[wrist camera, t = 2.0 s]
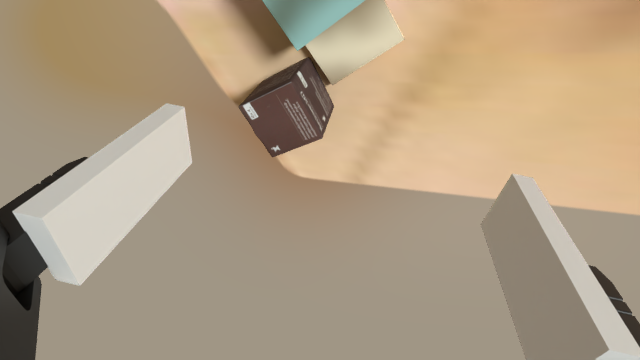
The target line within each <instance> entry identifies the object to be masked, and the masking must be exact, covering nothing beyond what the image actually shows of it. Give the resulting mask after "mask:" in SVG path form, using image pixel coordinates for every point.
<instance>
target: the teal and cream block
mask: <svg viewBox="0 0 640 360" xmlns="http://www.w3.org/2000/svg"><path fill="white" fill-rule="evenodd" d="M262 1H263V2H264V4H265V5H266V7H267V8H268V9H269V11H270V12H271V14H272V15H273V17H274V18H275V20H276V21H277V22H278V24H279V25H280V27H281V28H282V30H283V31H284V32H285V34H286V35H287V37H288V38H289V40H290V41H291V43H292V44H293V45H294V47H295V48H296V50H297V51H298V50H299V49H301V48H302V47H303V46H306V47H307V49H308V50H309V51H310V53H311V54H312V56H313V57H314V59H315V60H316V62H317V63H318V65H319V66H320V68H321V69H322V71H323V72H324V74H325V75H326V77H327V78H328V80H329V81H330V82H331V84H332V85H334V84H335V83H337V82H338V81H340V80H342V79H343V78H345V77H346V76H348V75H349V74H351V73H353V72H354V71H356V70H357V69H359V68H360V67H362V66H364V65H365V64H367V63H368V62H370V61H371V60H373V59H375V58H376V57H378V56H379V55H381V54H382V53H384V52H386V51H387V50H389V49H390V48H392V47H393V46H395V45H397V44H398V43H400V42H401V41H403V40H404V36H403V34H402V32H401V30H400V28H399V26H398V24H397V22H396V20H395V19H394V17H393V15H392V13H391V11H390V9H389V7H388V5H387V3H386V1H385V0H262Z"/></svg>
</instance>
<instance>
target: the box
mask: <svg viewBox="0 0 640 360" xmlns="http://www.w3.org/2000/svg"><path fill="white" fill-rule="evenodd" d="M333 108H334V105H333V103H332V101H331V99H330V97H329V94H328V92H327V90H326V88H325V86H324V84H323V82H322V80H321V78H320V76H319V74H318V73H317V71H316V69H315V67H314V65H313V63H312V61H311V59H310V58H306V59H304V60H302V61H300V62H298V63H296V64H294V65H292V66H291V67H289V68H287V69H285V70H283V71H281V72H279V73H277V74H275V75H274V76H271V77H269V78H268V79H266V80H264V81H263V82H262V83H261V84H260V85H259V86H258V87H257V88H256V89H255V90H254V91H253V92H252V93H251V94H250V95H249V96H248V97H247V98H246V99H245V100H244V102H243V103H241V104H240V106H239V109H240V110H241V112H242V113H243V115H244V116H245V118H246V119H247V120H248V122H249V124H250V125H251V127H252V128H253V131H254V132H255V134H256V136H257V137H258V138H259V139H260V140H261V141H262V143H263V144H264V146H265V147H266V149H267V150H268V152H269V153H270V155H271V156H272V157H275V156H277V155H280V154H283V153H285V152H288V151H290V150H293V149H296V148H298V147H301V146H304V145H306V144H309V143H312V142H314V141H317V140H319V139H322V138H323V134H324V132H325V129H326V127H327V124H328V121H329V118H330V116H331V113H332V110H333Z"/></svg>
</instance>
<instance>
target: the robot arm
mask: <svg viewBox="0 0 640 360" xmlns="http://www.w3.org/2000/svg"><path fill="white" fill-rule="evenodd" d="M191 163H192V157H191V150H190V144H189V136H188V129H187V122H186V115H185V108H184V107H182V106H177V105H172V104H167V103H166V104H165V105H164V106H162V107H161V108H159V109H158V110H157V111H155V112H153V113H152V114H151V115H149V116H148V117H146V118H145V119H143V120H142V121H141V122H139V123H138V124H137V125H135V126H133V127H132V128H131V129H129V130H128V131H126V132H125V133H124V134H122V135H121V136H119V137H118V138H117V139H115V140H114V141H112V142H111V143H109V144H108V145H106V146H105V147H103V148H102V149H101V150H99V151H98V152H96V153H95V154H93V155H92V156H91V157H89V158H87V157H83V158H81V159H78V160H76V161H73V162H71V163H68V164H66V165H65V166H63V167H62V168H60V169H59V170H57V171H56V172H54V173H53V175H52V176H48V177H47V178H45V179H44V180H42V181H41V184H36V185H35V186H33V187H32V188H31V189H29V190H27V191H26V192H24V193H23V194H21V195H20V196H18V197H17V198H15V199H14V200H12V201H11V202H10V203H8V204H7V205H5V206H3V207H2V208H1V209H0V360H35V353H36V343H37V331H38V320H39V307H40V296H41V285H42V284H41V280H40V278H39V277H38V276H39V275H40V273H42V272H43V270H45V269H46V268H47V267H48V269H49V270H50V272H51V273H52V275H53V277H54V278H55V280H59V281H63V282H67V283H71V284H75V285H79V286H80V285H81V284H82V283H83V282H84V281H85V280H86V278H87V277H88V276H89V275H90V274H91V273H92V272H93V271H94V270H95V268H96V267H97V266H98V265H99V264H100V263H101V262H102V261H103V260H104V259H105V258H106V256H107V255H108V254H109V253H110V252H111V251H112V250H113V249H114V248H115V247H116V246H117V244H118V243H119V242H120V241H121V240H122V239H123V238H124V237H125V236H126V235H127V233H128V232H129V231H130V230H131V229H132V228H133V227H134V226H135V225H136V224H137V223H138V221H139V220H140V219H141V218H142V217H143V216H144V215H145V214H146V213H147V212H148V211H149V209H150V208H151V207H152V206H153V205H154V204H155V203H156V201H158V200H159V198H160V197H161V196H162V195H163V194H164V193H165V192H166V191H167V190H168V189H169V188H170V187H171V185H172V184H173V183H174V182H175V181H176V180H177V179H178V178H179V177H180V176H181V174H182V173H183V172H184V171H185V170H186V169H187V168H188V167H189V166H190V165H191ZM481 227H482V230H483V233H484V236H485V239H486V242H487V245H488V248H489V251H490V254H491V257H492V260H493V263H494V266H495V268H496V272H497V275H498V278H499V281H500V284H501V287H502V290H503V292H504V295H505V298H506V301H507V304H508V308H509V310H510V313H511V317H512V319H513V323H514V325H515V329H516V332H517V334H518V337H519V340H520V343H521V346H522V349H523V352H524V355H525V358H526V360H640V324H639V322H638V321H637V319H636V318H635V316H632V312H631V310H630V309H629V307H628V306H627V304H626V303H625V302H623V301H622V300H623V298H622V297H621V295H620V294H619V292H618V291H617V290H616V288H615V286H614V285H613V284H612V282H611V281H610V280H609V279H608V278H606V276H605V275H604V274H602V273H601V272H600V271H599V270H598V269H597V268H596V267H593V266H589V265H587V263H586V261H585V260H584V258H583V257H582V255H581V254H580V252H579V250H578V249H577V247H576V246H575V244H574V242H573V241H572V239H571V238H570V236H569V234H568V233H567V231H566V230H565V228H564V226H563V225H562V223H561V222H560V220H559V219H558V217H557V215H556V214H555V212H554V211H553V209H552V207H551V206H550V204H549V203H548V201H547V199H546V198H545V196H544V195H543V193H542V192H541V190H540V188H539V187H538V185H537V184H536V182H535V180H534V179H533V178H531V177H527V176H522V175H517V174H512V175H511V177H510V178H509V180H508V181H507V183H506V185H505V186H504V188H503V189H502V191H501V193H500V194H499V196H498V197H497V199H496V201H495V202H494V204H493V206H492V207H491V209H490V210H489V212H488V213H487V215H486V217H485V218H484V220H483V221H482V223H481Z"/></svg>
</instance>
